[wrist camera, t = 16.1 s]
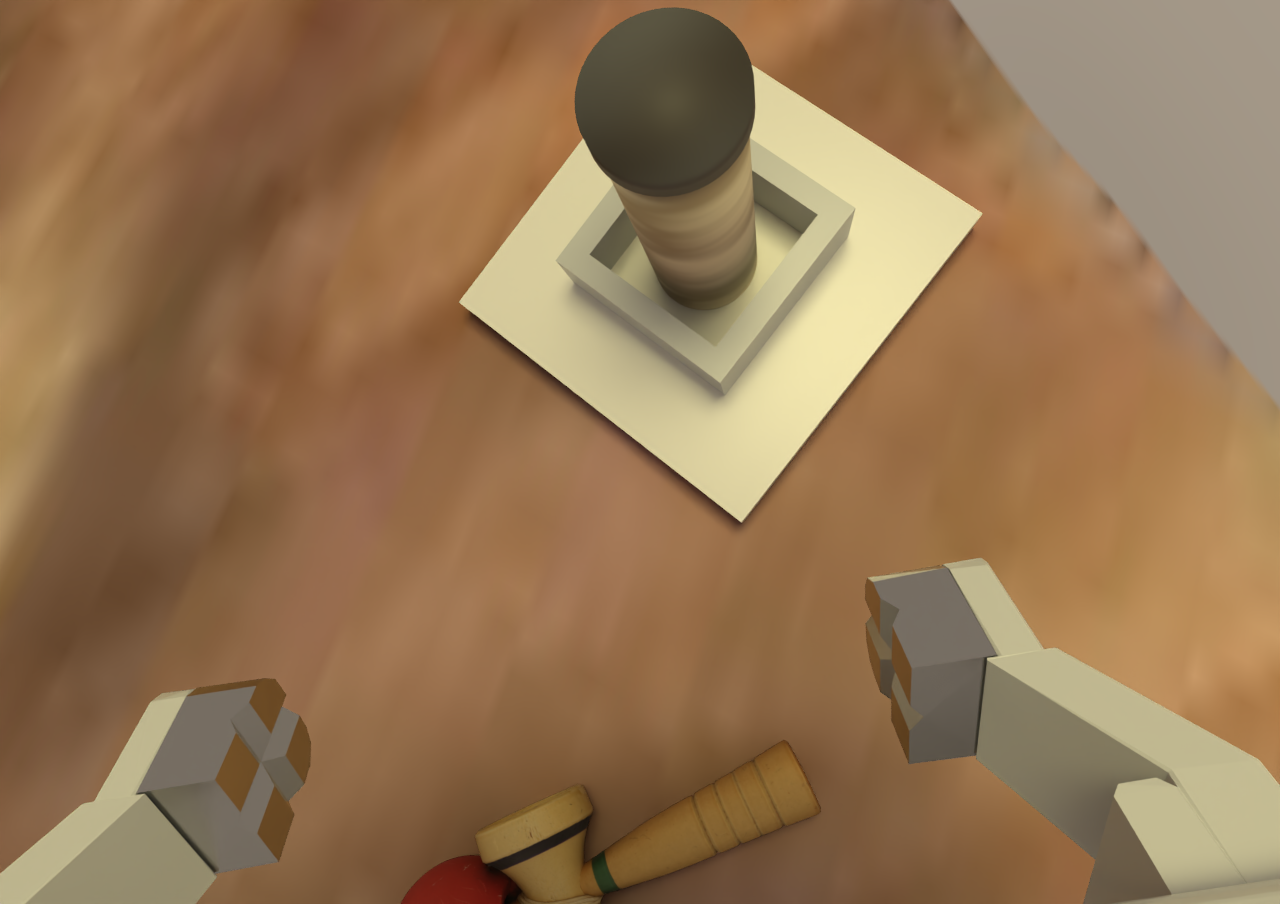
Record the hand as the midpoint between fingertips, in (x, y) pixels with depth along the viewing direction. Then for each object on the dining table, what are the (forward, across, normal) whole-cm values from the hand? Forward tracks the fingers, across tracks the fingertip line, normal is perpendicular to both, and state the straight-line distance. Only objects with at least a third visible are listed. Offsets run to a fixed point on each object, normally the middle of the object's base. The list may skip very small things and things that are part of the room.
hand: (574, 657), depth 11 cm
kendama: (+12, +4, +24) cm, 27 cm away
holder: (+26, -5, +5) cm, 27 cm away
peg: (+25, -5, +4) cm, 26 cm away
